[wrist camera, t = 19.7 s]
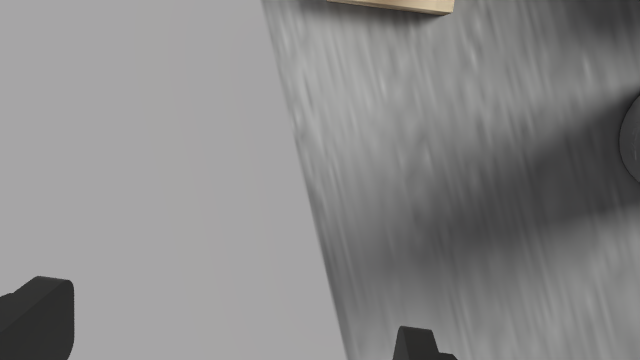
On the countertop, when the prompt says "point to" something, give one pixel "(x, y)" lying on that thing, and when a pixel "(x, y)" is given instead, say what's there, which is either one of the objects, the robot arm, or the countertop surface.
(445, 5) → the tan l-shaped piece
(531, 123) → the countertop surface
